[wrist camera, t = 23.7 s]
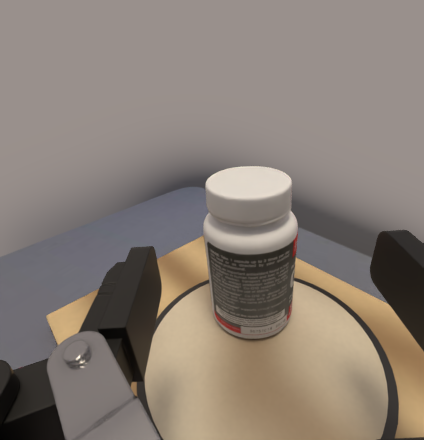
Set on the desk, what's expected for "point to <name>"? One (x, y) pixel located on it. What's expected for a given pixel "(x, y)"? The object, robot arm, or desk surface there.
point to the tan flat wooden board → (273, 363)
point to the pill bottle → (250, 249)
